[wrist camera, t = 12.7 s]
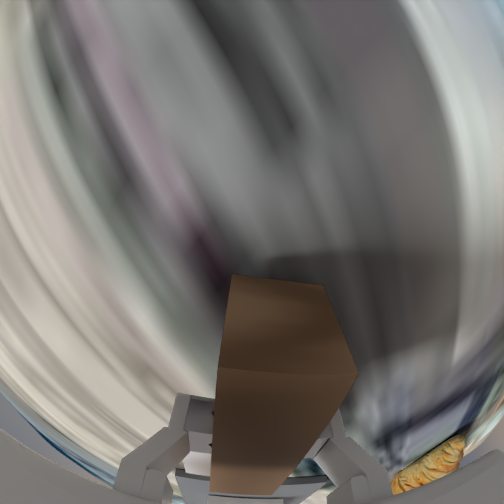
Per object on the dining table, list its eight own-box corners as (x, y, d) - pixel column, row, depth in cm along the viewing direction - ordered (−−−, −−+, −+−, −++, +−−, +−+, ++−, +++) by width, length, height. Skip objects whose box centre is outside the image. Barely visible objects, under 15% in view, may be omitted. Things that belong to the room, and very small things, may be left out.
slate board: (176, 468, 18) (174, 475, 17) (326, 475, 18) (327, 482, 17) (187, 503, 24) (186, 507, 24) (283, 509, 25) (283, 513, 24)
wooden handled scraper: (374, 290, 9) (425, 369, 5) (277, 474, 16) (278, 515, 12) (171, 265, 9) (123, 348, 5) (186, 466, 15) (180, 508, 12)
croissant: (425, 414, 20) (415, 476, 14) (495, 415, 16) (496, 472, 9) (378, 478, 28) (364, 517, 22) (430, 481, 23) (420, 520, 17)
